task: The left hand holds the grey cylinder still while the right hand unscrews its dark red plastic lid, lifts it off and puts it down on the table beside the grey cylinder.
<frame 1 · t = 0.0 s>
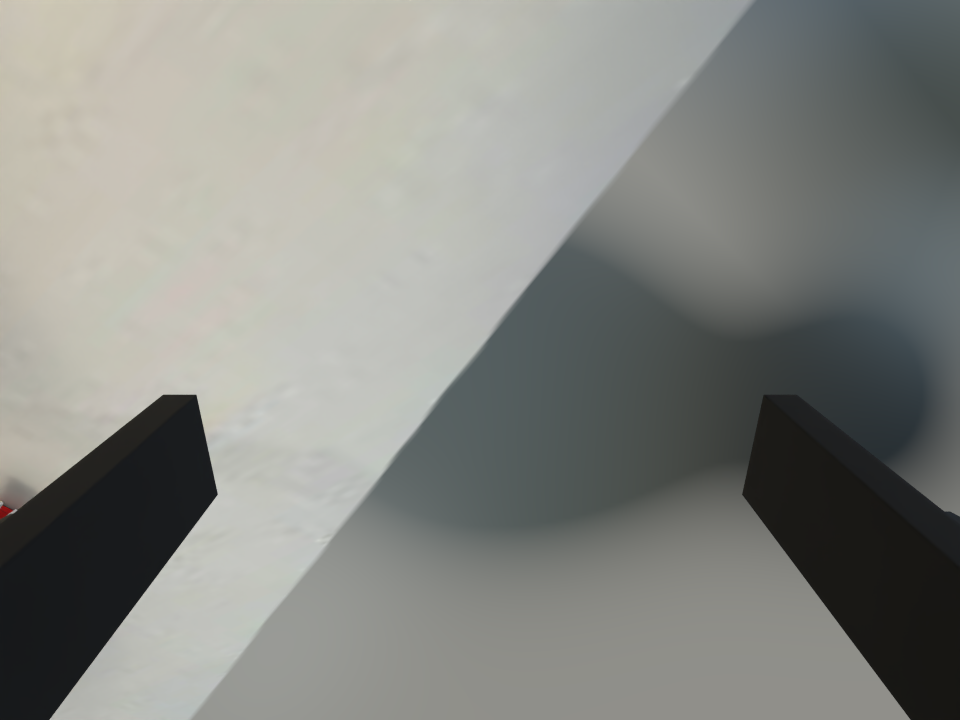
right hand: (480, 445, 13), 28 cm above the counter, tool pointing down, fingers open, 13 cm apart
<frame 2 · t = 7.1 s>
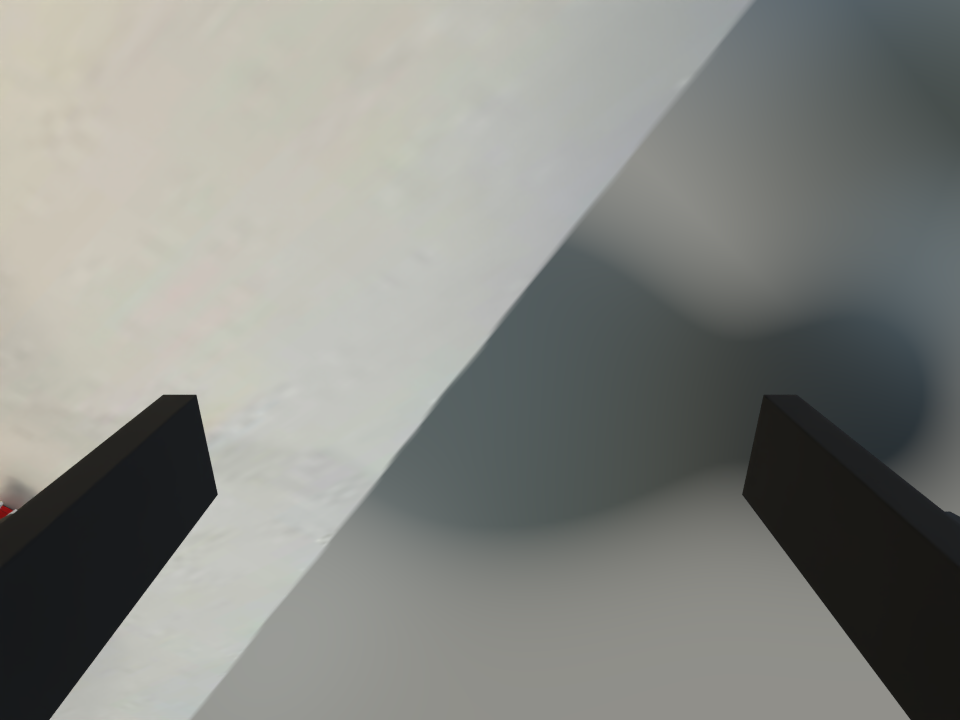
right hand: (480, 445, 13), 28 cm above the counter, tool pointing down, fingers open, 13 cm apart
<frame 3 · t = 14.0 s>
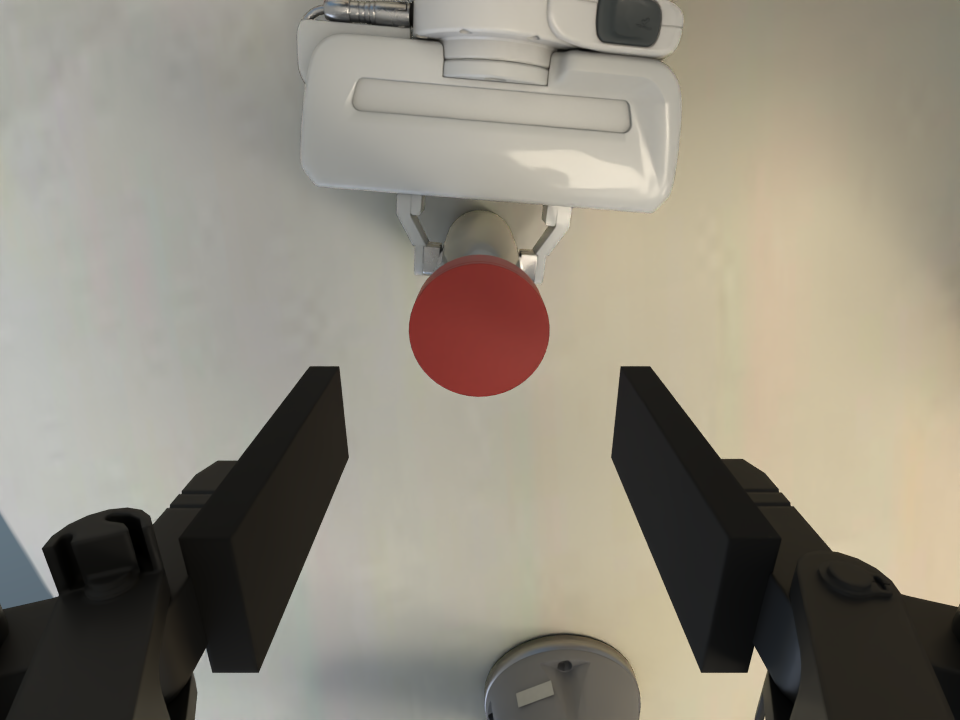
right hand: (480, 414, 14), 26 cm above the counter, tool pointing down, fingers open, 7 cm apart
left hand: (479, 277, 33), fingers closed on grey cylinder, 5 cm apart
grey cylinder: (479, 244, 38), on the counter, touching left hand
lid: (479, 330, 21), point 19 cm above the counter, screwed on, not yet turned
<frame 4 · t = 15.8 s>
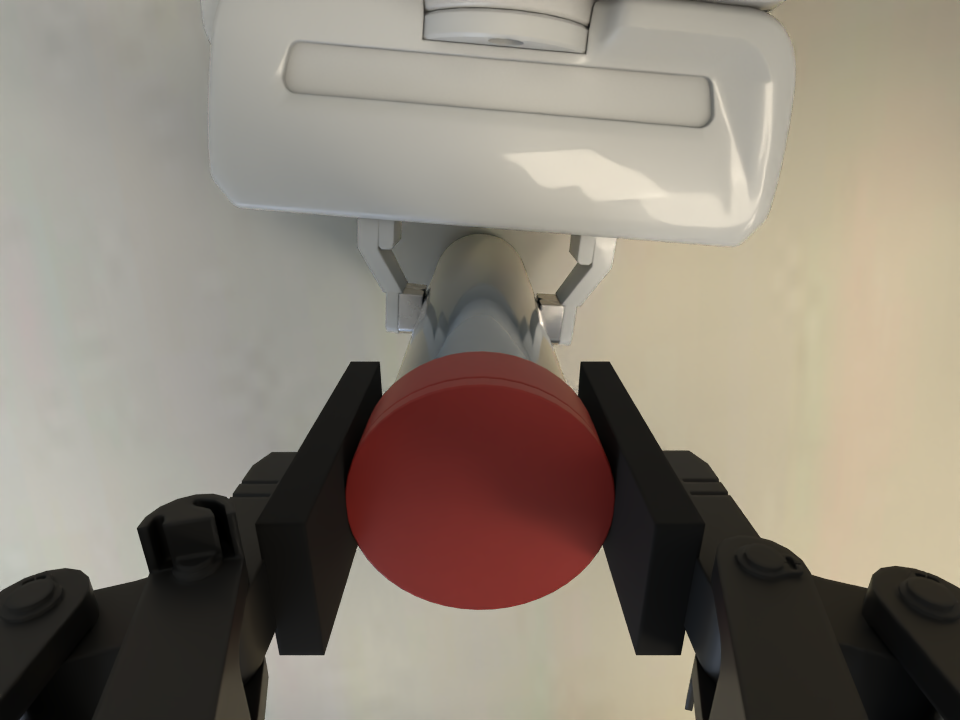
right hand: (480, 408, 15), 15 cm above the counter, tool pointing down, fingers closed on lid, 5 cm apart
left hand: (479, 335, 23), fingers closed on grey cylinder, 5 cm apart
grey cylinder: (480, 279, 29), on the counter, touching left hand
lid: (480, 497, 11), point 19 cm above the counter, screwed on, not yet turned, touching right hand
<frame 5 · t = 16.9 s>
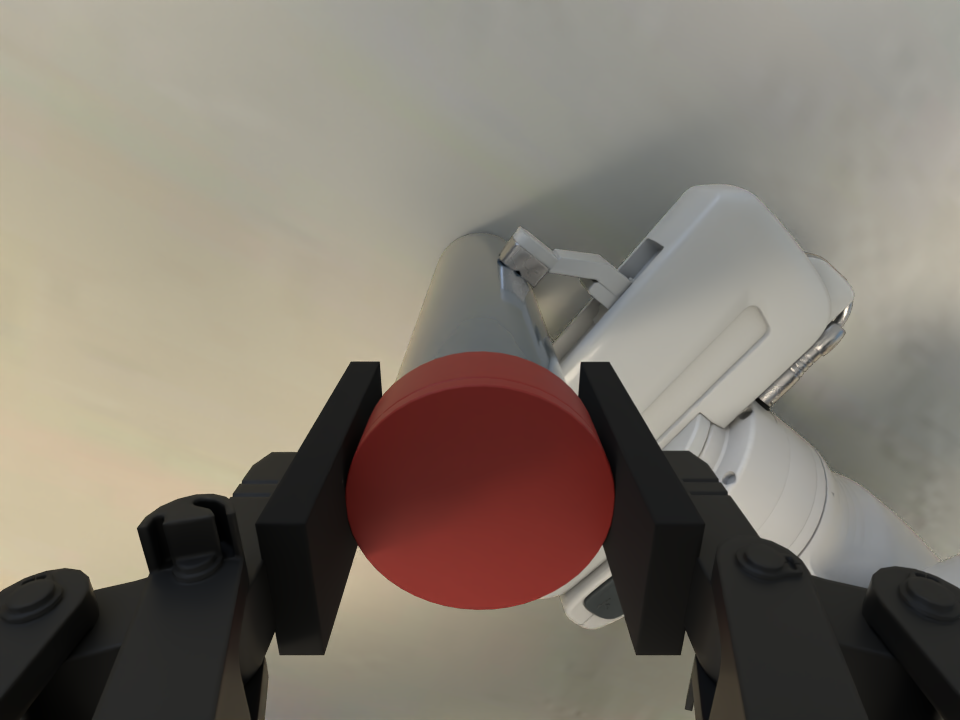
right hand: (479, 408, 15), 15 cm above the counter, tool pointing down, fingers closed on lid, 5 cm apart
left hand: (462, 301, 23), fingers closed on grey cylinder, 5 cm apart
grey cylinder: (480, 278, 29), on the counter, touching left hand
lid: (480, 497, 11), point 19 cm above the counter, off its thread, touching right hand
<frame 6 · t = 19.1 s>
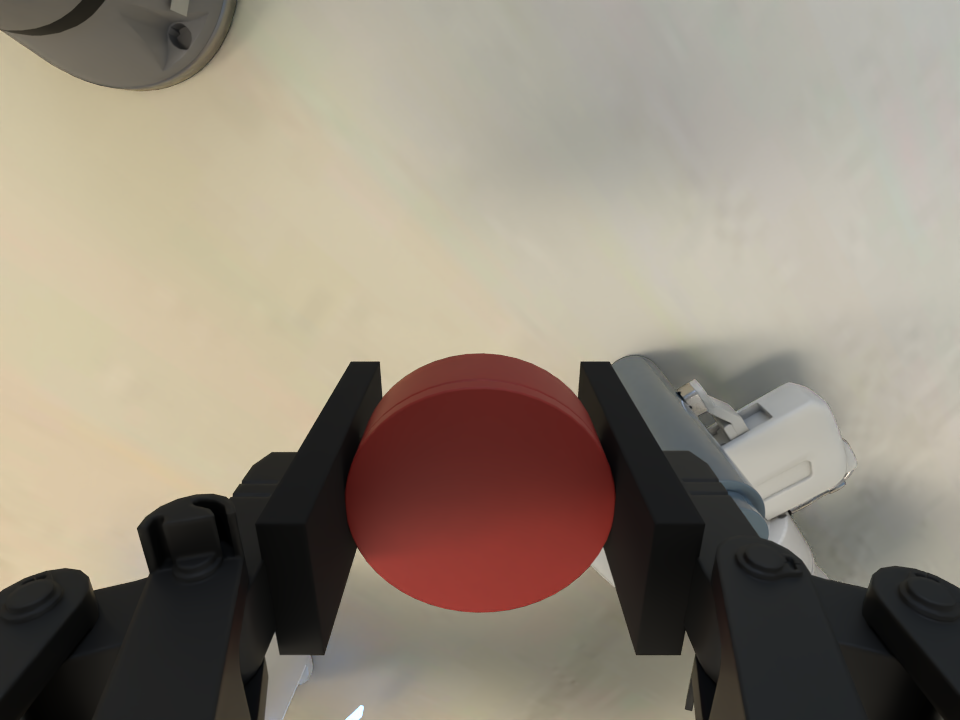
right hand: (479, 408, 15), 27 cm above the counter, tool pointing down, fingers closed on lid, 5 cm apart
left hand: (648, 410, 38), fingers closed on grey cylinder, 5 cm apart
grey cylinder: (631, 382, 44), on the counter, touching left hand
lid: (480, 500, 11), point 31 cm above the counter, off its thread, touching right hand
when the right hand's fingers open (0 cm above the counter, at t = 23.8 s): lid drops 3 cm, point 1 cm above the counter.
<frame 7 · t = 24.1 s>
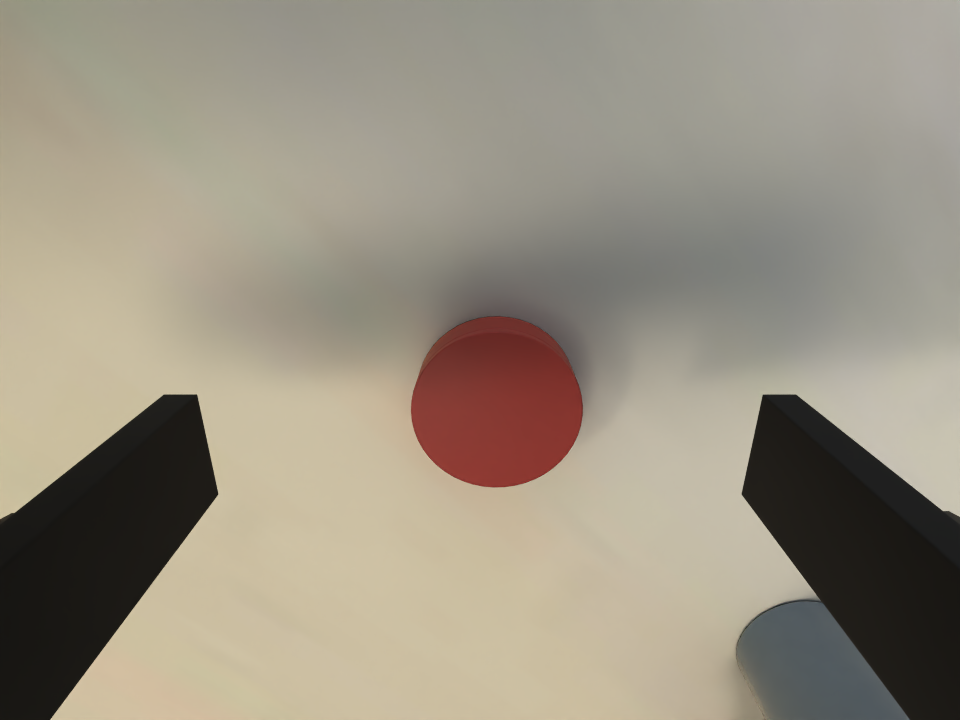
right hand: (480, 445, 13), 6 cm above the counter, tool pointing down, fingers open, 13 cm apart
grey cylinder: (795, 646, 22), on the counter, touching left hand
lid: (496, 409, 17), point 1 cm above the counter, off its thread
when the left hand's fingers open (6 cm above the counter, at t = 24.4 s): grey cylinder stays where it is, on the counter.
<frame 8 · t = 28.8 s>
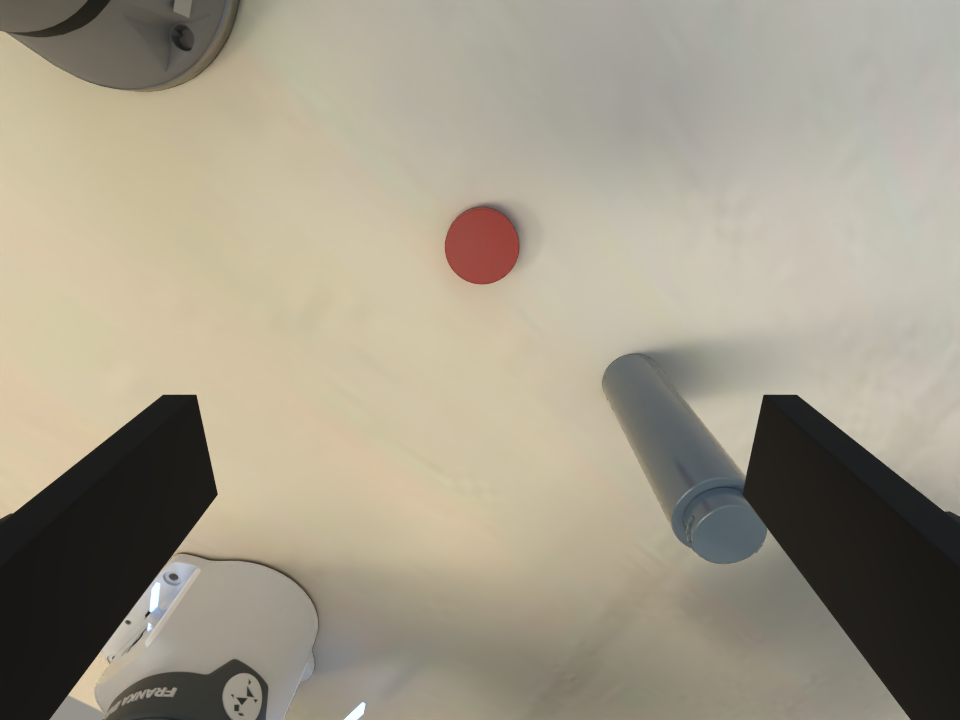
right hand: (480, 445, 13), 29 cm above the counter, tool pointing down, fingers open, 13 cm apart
grey cylinder: (631, 380, 44), on the counter
lid: (482, 247, 39), point 1 cm above the counter, off its thread
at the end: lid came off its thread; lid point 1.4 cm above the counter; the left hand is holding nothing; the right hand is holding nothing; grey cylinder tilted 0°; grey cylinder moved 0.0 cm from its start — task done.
